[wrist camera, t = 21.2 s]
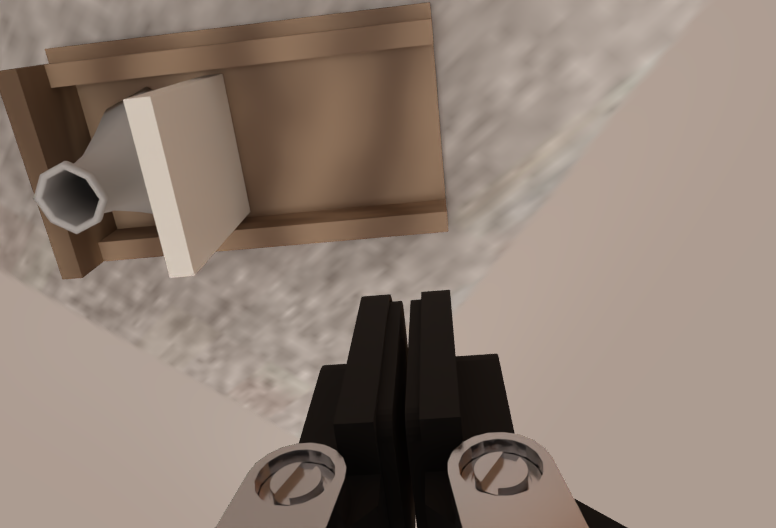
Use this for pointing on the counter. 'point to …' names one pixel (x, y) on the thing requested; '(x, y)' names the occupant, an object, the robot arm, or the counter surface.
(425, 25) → the wooden crate tray
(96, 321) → the counter surface
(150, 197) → the rectangular block
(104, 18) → the counter surface
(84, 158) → the flask
